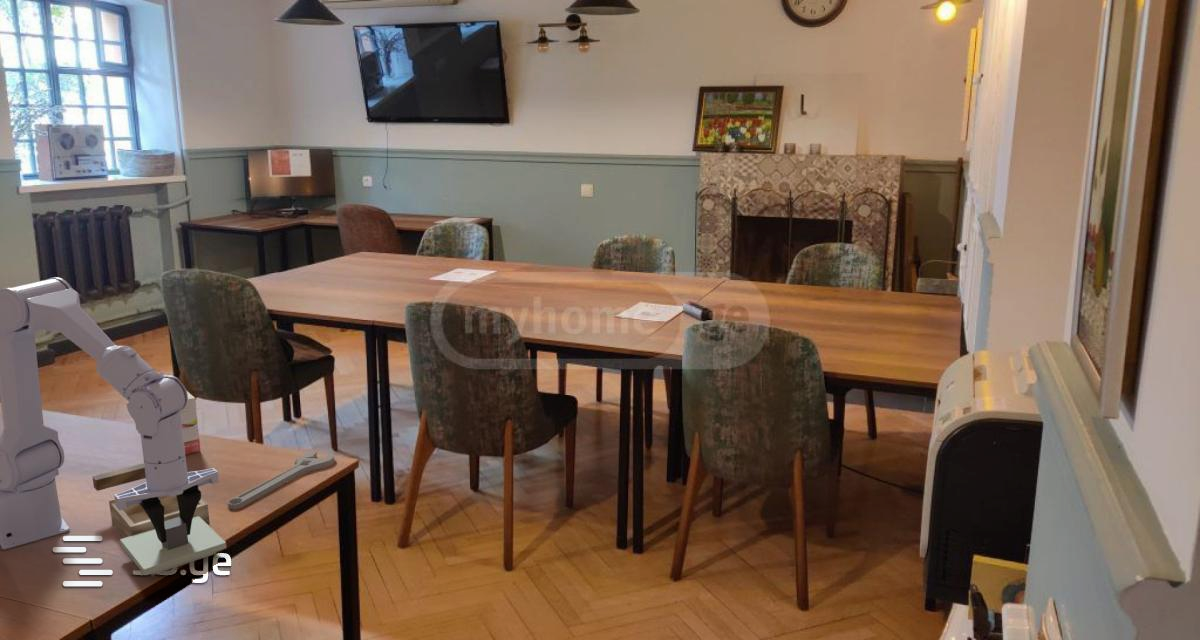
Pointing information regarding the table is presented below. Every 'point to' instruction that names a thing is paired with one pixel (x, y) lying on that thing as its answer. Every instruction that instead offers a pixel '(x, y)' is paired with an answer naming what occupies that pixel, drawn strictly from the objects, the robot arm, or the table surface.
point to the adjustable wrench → (282, 478)
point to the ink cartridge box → (190, 426)
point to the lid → (172, 545)
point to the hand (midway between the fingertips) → (173, 536)
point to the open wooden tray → (139, 522)
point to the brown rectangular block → (119, 477)
